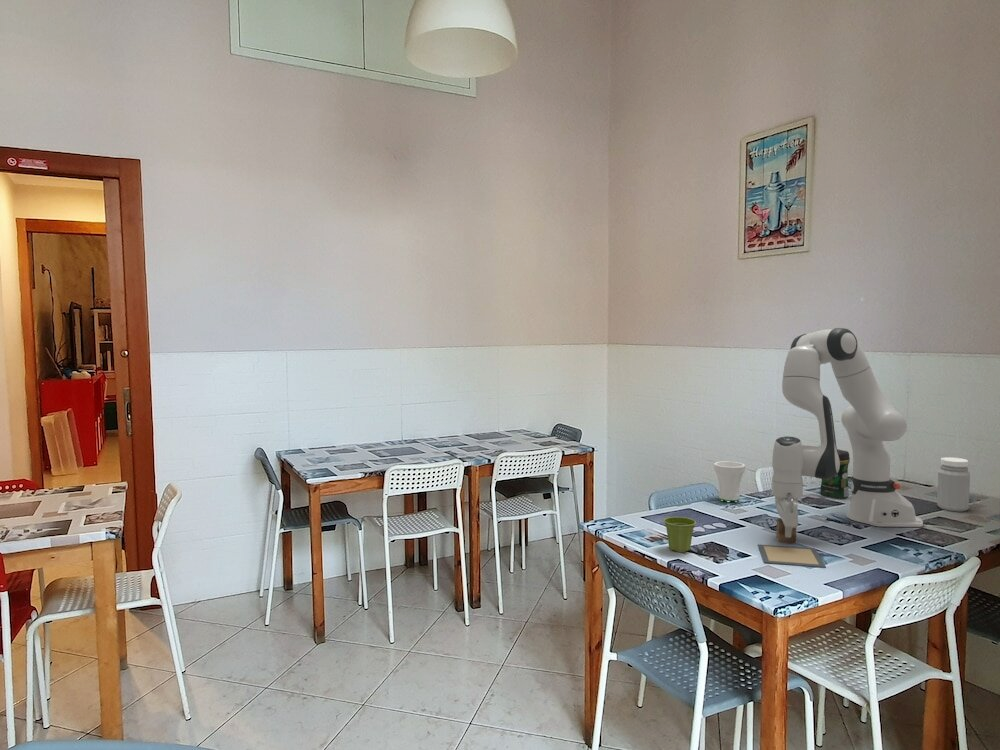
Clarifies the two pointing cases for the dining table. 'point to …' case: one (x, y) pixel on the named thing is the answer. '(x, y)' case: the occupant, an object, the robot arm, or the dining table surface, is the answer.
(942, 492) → the jar
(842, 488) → the coffee jar
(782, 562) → the coaster mat
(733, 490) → the cup
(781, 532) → the walnut block
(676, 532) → the plant pot
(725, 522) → the dining table surface
